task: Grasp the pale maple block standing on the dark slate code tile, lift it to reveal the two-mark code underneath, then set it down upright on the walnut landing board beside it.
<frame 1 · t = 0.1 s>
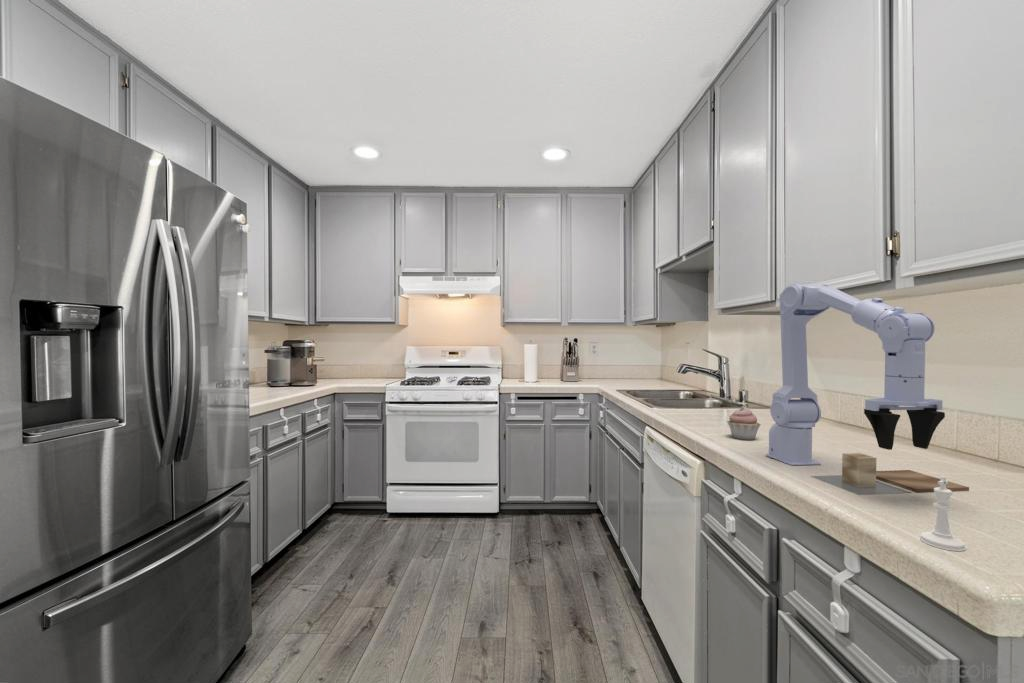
hand: (902, 448, 85), 10 cm above the counter, tool pointing down, fingers open, 7 cm apart
chess piece: (942, 544, 67), on the counter
code tile: (858, 484, 94), on the counter
cupcake: (743, 438, 138), on the counter
maple block: (858, 484, 94), resting on code tile
landing board: (912, 482, 96), on the counter
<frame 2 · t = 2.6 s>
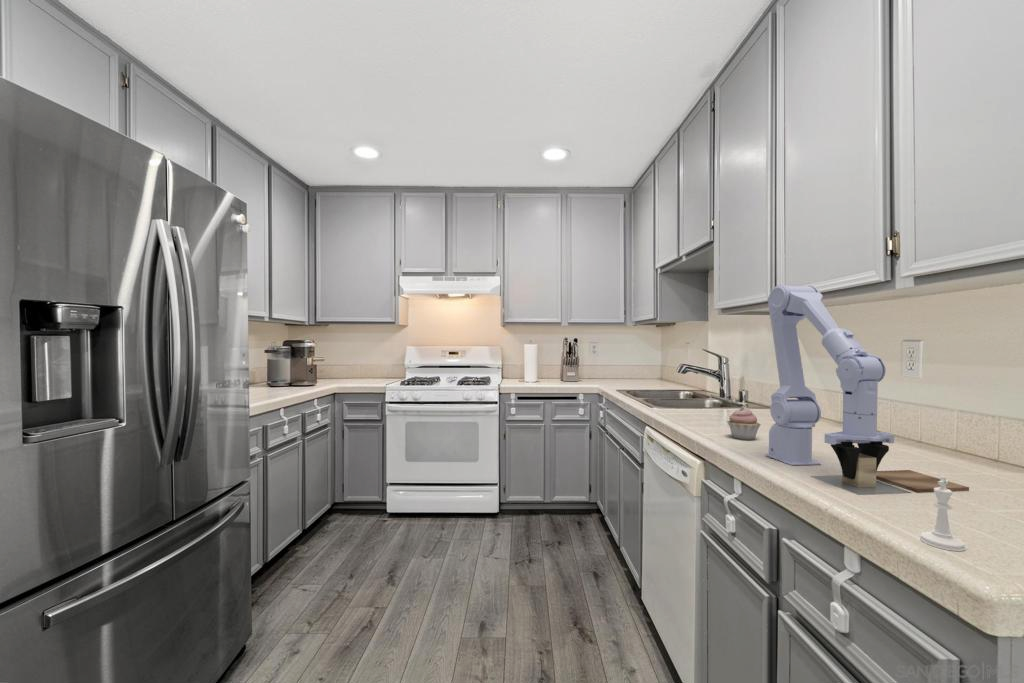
hand: (858, 477, 94), 2 cm above the counter, tool pointing down, fingers closed on maple block, 4 cm apart
maple block: (858, 484, 94), resting on code tile, touching gripper
everything else where it was.
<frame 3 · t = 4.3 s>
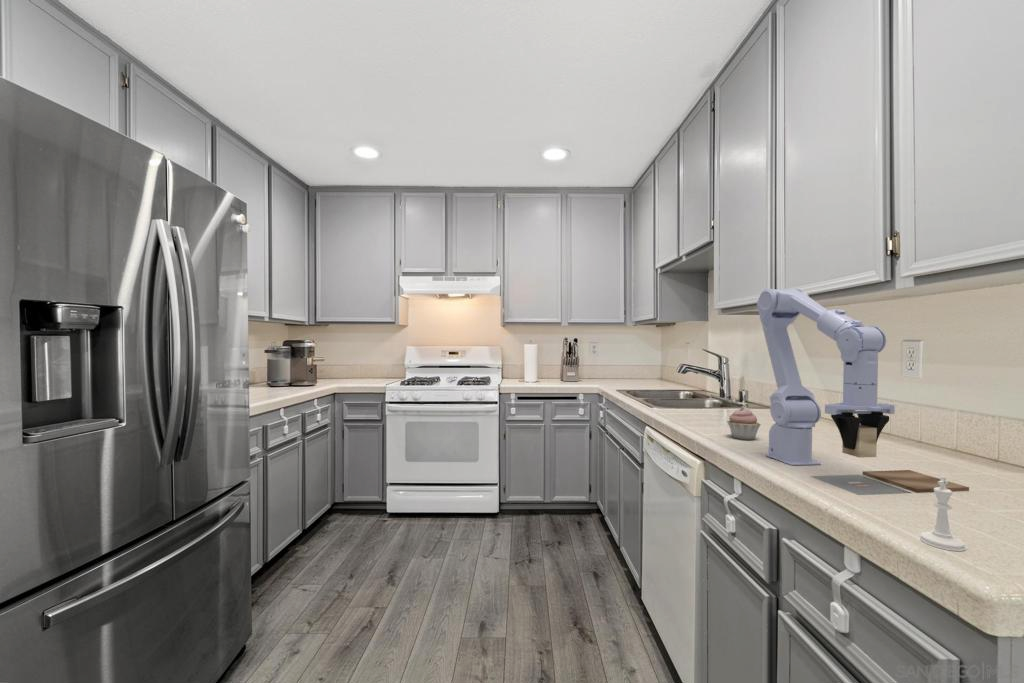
hand: (859, 448, 94), 8 cm above the counter, tool pointing down, fingers closed on maple block, 4 cm apart
maple block: (859, 454, 94), point 6 cm above the counter, touching gripper
everything else where it was.
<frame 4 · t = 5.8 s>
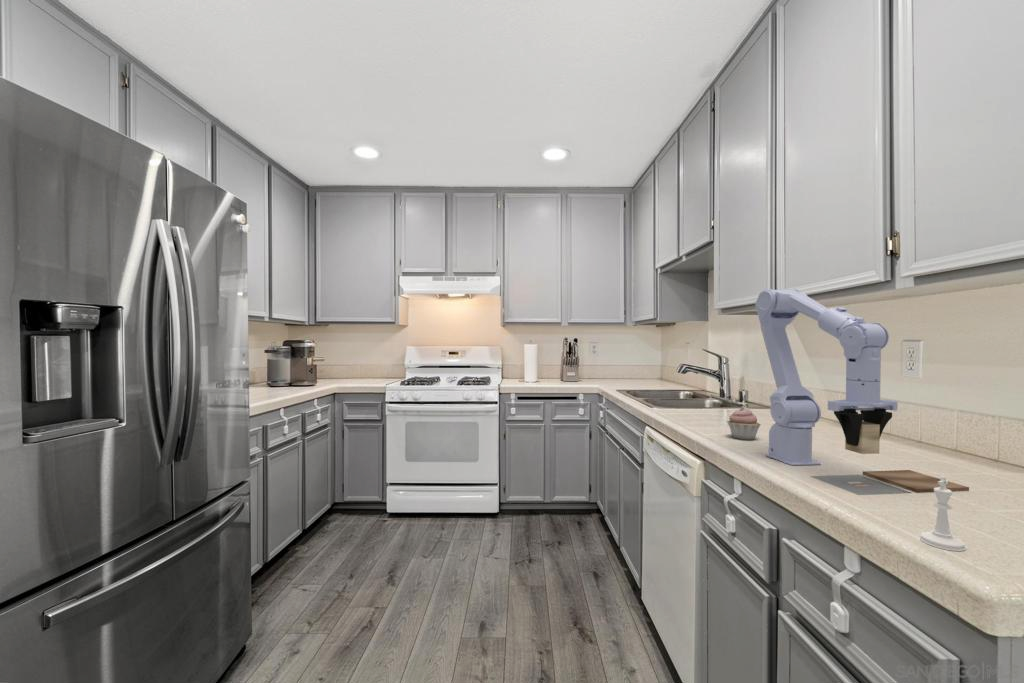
hand: (862, 444, 94), 8 cm above the counter, tool pointing down, fingers closed on maple block, 4 cm apart
maple block: (861, 451, 94), point 7 cm above the counter, touching gripper
everything else where it was.
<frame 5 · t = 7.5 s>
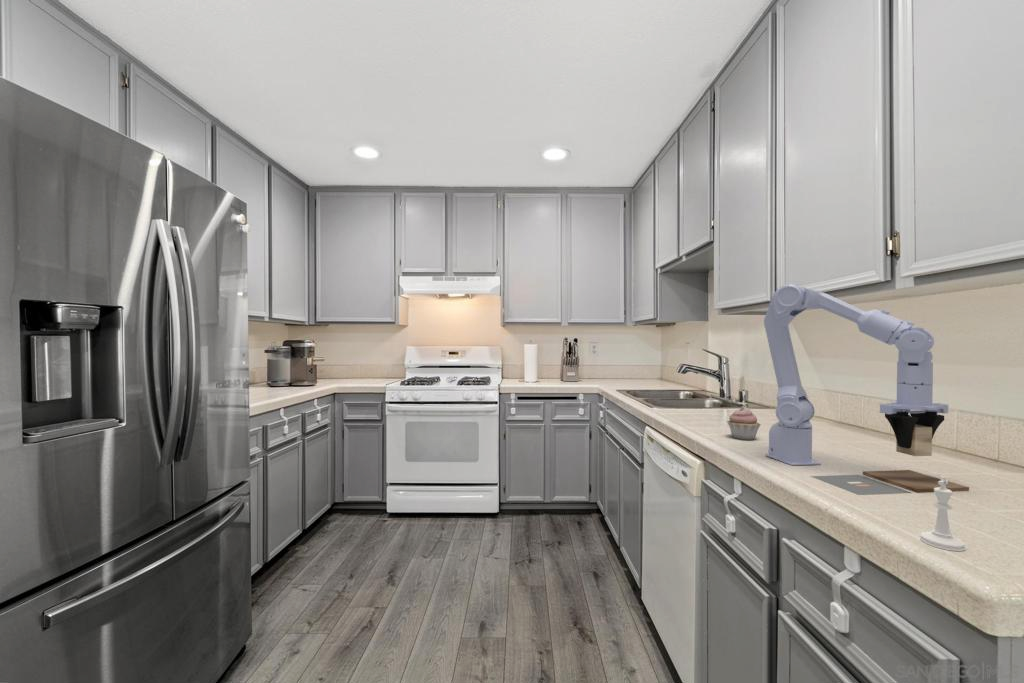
hand: (913, 447, 96), 8 cm above the counter, tool pointing down, fingers closed on maple block, 4 cm apart
maple block: (913, 453, 96), point 6 cm above the counter, touching gripper
everything else where it was.
when the fingers open (4 cm above the counter, at t = 9.1 s): maple block drops 1 cm, resting on landing board.
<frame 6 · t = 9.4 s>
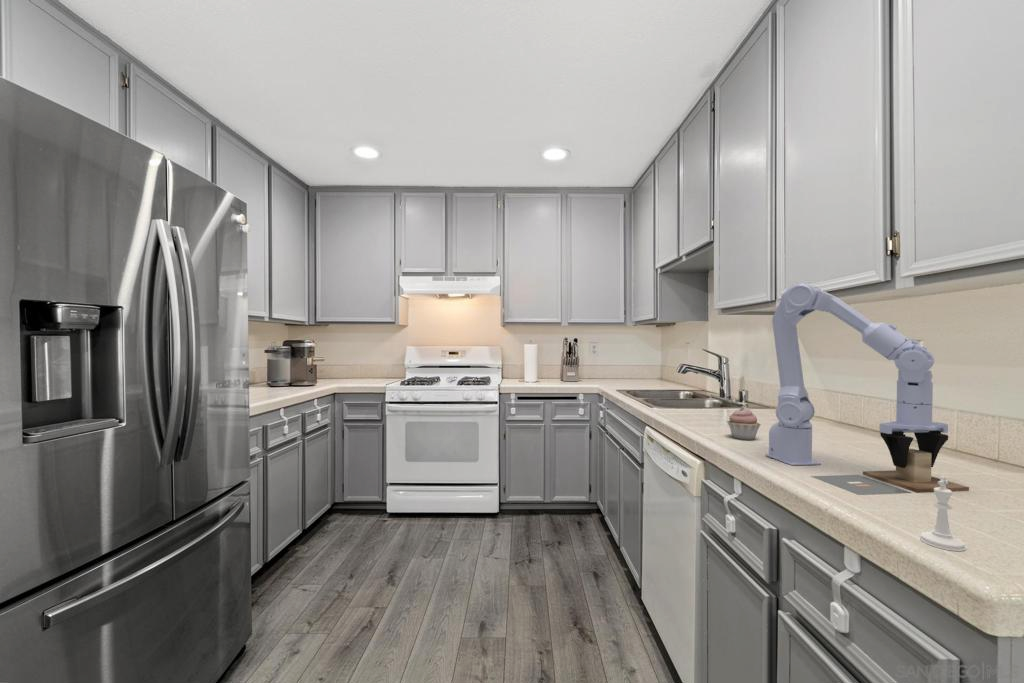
hand: (913, 466, 96), 4 cm above the counter, tool pointing down, fingers open, 6 cm apart
maple block: (913, 479, 96), point 1 cm above the counter, touching landing board
everything else where it was.
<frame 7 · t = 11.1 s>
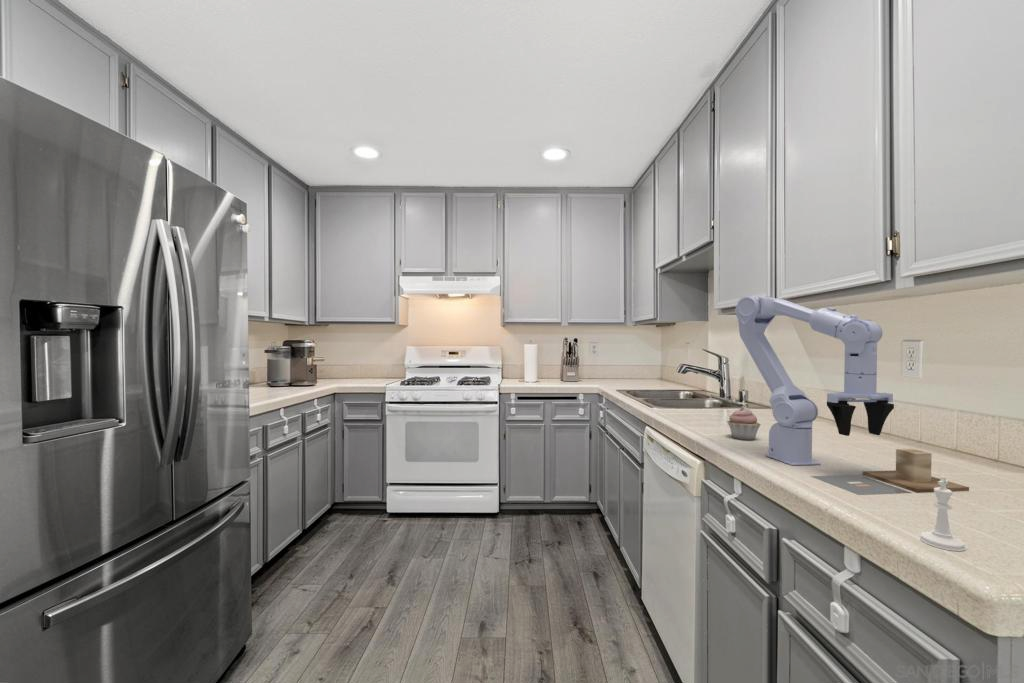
hand: (859, 434, 100), 9 cm above the counter, tool pointing down, fingers open, 7 cm apart
nothing on the counter moved.
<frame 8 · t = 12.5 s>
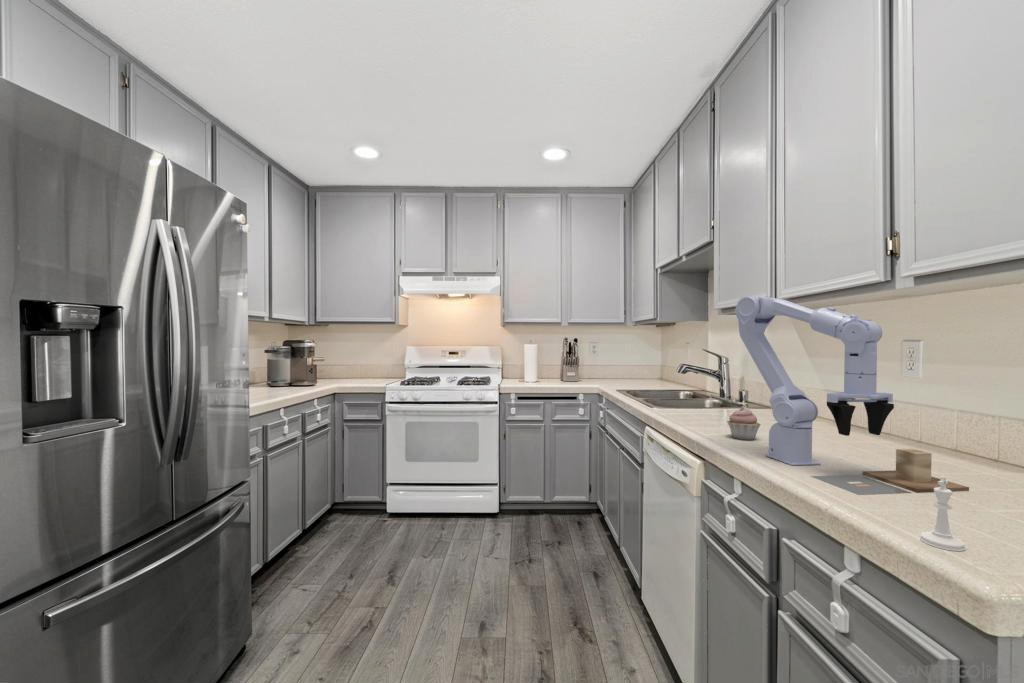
hand: (859, 434, 100), 9 cm above the counter, tool pointing down, fingers open, 7 cm apart
nothing on the counter moved.
at the end: maple block inside the target area (0.0 cm from its centre), point 0.8 cm above the counter; maple block tilted 0°; maple block touching landing board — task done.
